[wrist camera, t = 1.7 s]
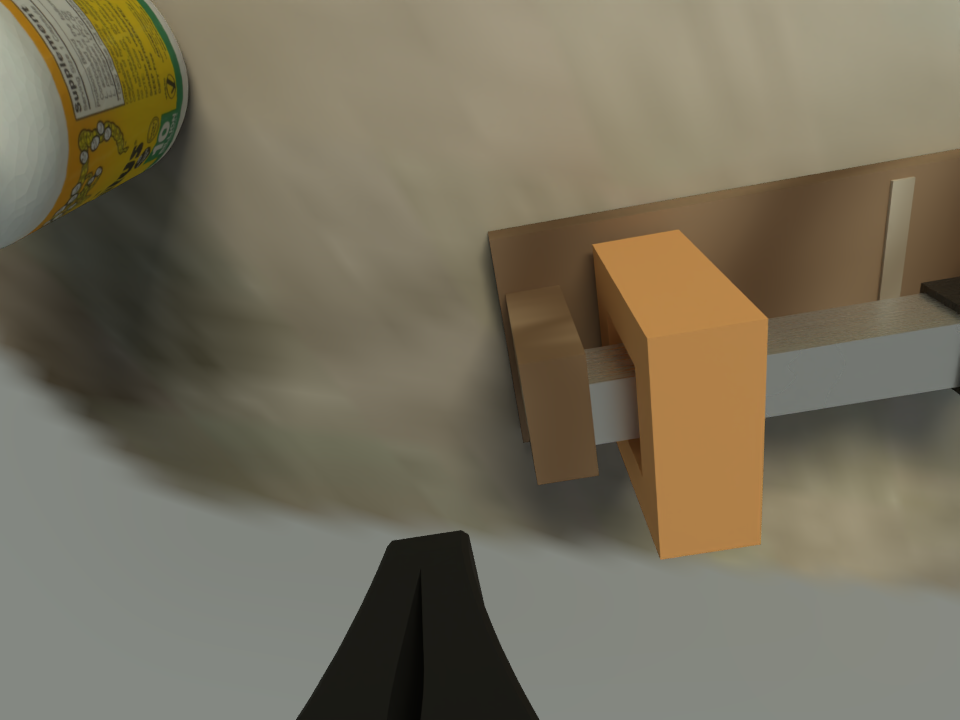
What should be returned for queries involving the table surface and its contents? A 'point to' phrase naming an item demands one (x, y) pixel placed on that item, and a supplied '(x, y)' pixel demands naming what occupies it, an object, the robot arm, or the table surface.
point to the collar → (688, 390)
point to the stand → (736, 253)
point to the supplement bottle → (81, 103)
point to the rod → (818, 359)
